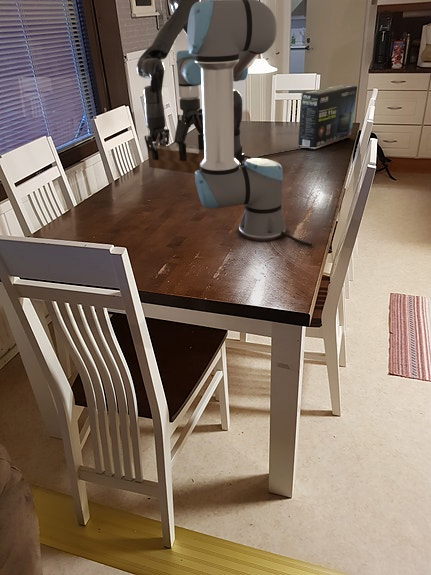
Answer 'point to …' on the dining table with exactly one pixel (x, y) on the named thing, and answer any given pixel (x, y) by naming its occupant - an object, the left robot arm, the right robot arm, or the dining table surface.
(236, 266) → the dining table surface
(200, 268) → the dining table surface
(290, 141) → the dining table surface
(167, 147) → the bar
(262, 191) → the right robot arm
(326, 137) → the router box
